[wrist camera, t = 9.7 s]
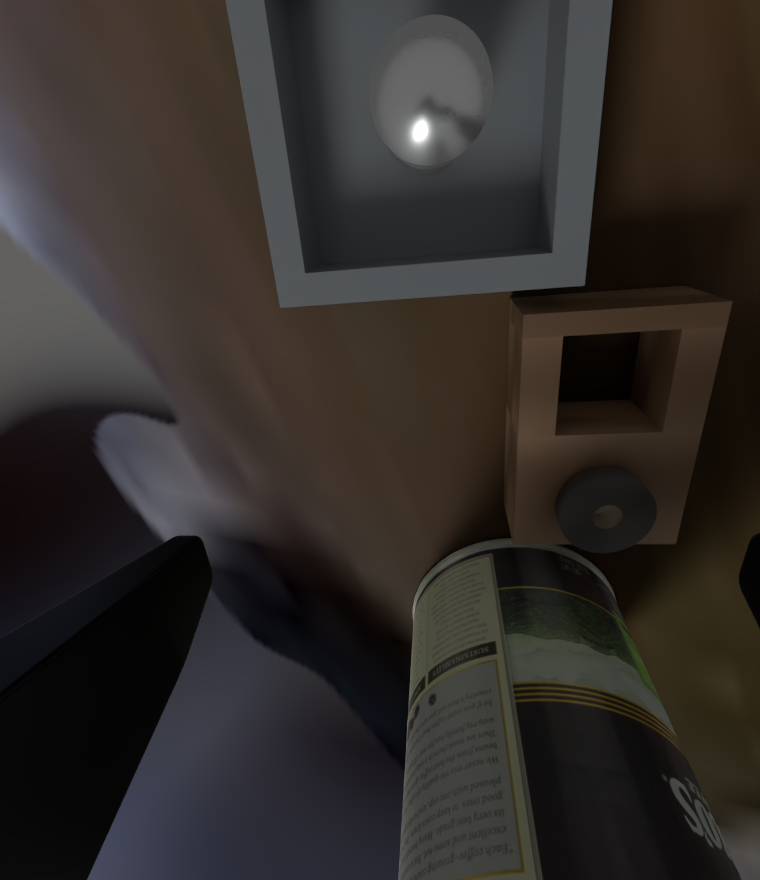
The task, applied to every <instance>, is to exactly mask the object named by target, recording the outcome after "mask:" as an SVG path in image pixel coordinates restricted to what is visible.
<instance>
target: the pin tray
mask: <svg viewBox="0 0 760 880" xmlns="http://www.w3.org/2000/svg"><path fill="white" fill-rule="evenodd" d="M612 3H613V0H226V5H227V11H228V17H229V22H230V28H231V34H232V39H233V45H234V50H235V56H236V62H237V67H238V73H239V79H240V84H241V90H242V95H243V101H244V107H245V112H246V118H247V124H248V129H249V135H250V140H251V146H252V152H253V157H254V163H255V168H256V174H257V180H258V185H259V191H260V197H261V202H262V208H263V213H264V219H265V225H266V230H267V236H268V242H269V247H270V253H271V258H272V264H273V270H274V275H275V281H276V287H277V292H278V298H279V303H280V308H286V307H299V306H313V305H327V304H341V303H354V302H368V301H382V300H396V299H409V298H423V297H437V296H451V295H464V294H478V293H492V292H506V291H519V290H533V289H547V288H560V287H574V286H585V278H586V267H587V257H588V247H589V237H590V227H591V217H592V207H593V196H594V186H595V176H596V166H597V156H598V146H599V135H600V125H601V115H602V105H603V95H604V85H605V74H606V64H607V54H608V44H609V34H610V24H611V13H612ZM433 14H436V15H445V16H449V17H452V18H454V19H457V20H459V21H461V22H462V23H464V24H465V25H467V26H468V27H469V28H470V29H471V30H472V31H473V32H474V33H475V34H476V35H477V37H478V38H479V39H480V41H481V43H482V44H483V46H484V48H485V50H486V52H487V55H488V57H489V61H490V64H491V69H492V75H493V96H492V102H491V107H490V111H489V114H488V117H487V120H486V122H485V124H484V126H483V128H482V130H481V132H480V134H479V135H478V137H477V138H476V139H475V141H474V142H473V143H472V144H471V145H470V146H469V147H468V148H467V149H466V150H465V151H464V152H463V153H462V154H461V155H460V156H459V157H458V158H457V159H456V160H455V161H454V162H453V163H452V164H450V165H449V166H448V167H447V168H446V169H444V170H443V171H441V172H439V173H436V174H433V175H428V176H421V175H416V174H413V173H410V172H408V171H407V170H405V169H404V168H402V167H401V166H400V165H399V164H398V163H397V161H396V160H395V159H394V157H393V156H392V154H391V153H390V151H389V149H388V148H387V146H386V145H385V143H384V142H383V140H382V139H381V137H380V135H379V133H378V132H377V129H376V127H375V124H374V122H373V118H372V114H371V109H370V99H369V90H370V80H371V74H372V71H373V67H374V64H375V61H376V59H377V56H378V54H379V53H380V51H381V49H382V47H383V46H384V44H385V43H386V41H387V40H388V39H389V37H390V36H391V35H392V34H393V33H394V32H395V31H396V30H397V29H399V28H400V27H401V26H402V25H404V24H405V23H407V22H409V21H410V20H413V19H415V18H417V17H421V16H425V15H433Z"/></svg>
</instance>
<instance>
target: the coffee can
mask: <svg viewBox="0 0 760 880" xmlns="http://www.w3.org/2000/svg"><path fill="white" fill-rule="evenodd" d="M412 613H413V642H412V657H411V675H410V693H409V710H408V723H407V744H406V762H405V779H404V780H405V781H404V796H403V812H402V829H401V846H400V863H399V879H398V880H742V879H741V877H740V874H739V873H738V871H737V869H736V866H735V864H734V862H733V860H732V858H731V856H730V853H729V851H728V849H727V846H726V844H725V842H724V840H723V837H722V835H721V833H720V831H719V828H718V825H717V824H716V822H715V820H714V818H713V816H712V814H711V811H710V809H709V806H708V804H707V801H706V799H705V797H704V795H703V793H702V791H701V789H700V787H699V785H698V782H697V780H696V778H695V776H694V774H693V771H692V769H691V767H690V765H689V762H688V760H687V758H686V756H685V754H684V751H683V749H682V747H681V745H680V742H679V740H678V738H677V736H676V734H675V732H674V729H673V727H672V725H671V723H670V721H669V718H668V716H667V714H666V712H665V709H664V707H663V705H662V703H661V701H660V698H659V696H658V694H657V692H656V689H655V687H654V685H653V683H652V681H651V679H650V676H649V674H648V672H647V670H646V667H645V665H644V663H643V661H642V659H641V656H640V654H639V652H638V650H637V647H636V645H635V643H634V641H633V639H632V636H631V633H630V631H629V630H628V628H627V625H626V623H625V621H624V619H623V616H622V614H621V612H620V610H619V608H618V605H617V602H616V598H615V595H614V592H613V590H612V587H611V586H610V584H609V582H608V580H607V579H606V577H605V576H604V575H603V574H602V573H601V571H600V570H599V569H598V568H597V567H596V566H594V565H593V564H592V563H591V562H590V561H589V560H587V559H586V558H584V557H583V556H582V555H580V554H578V553H576V552H575V551H573V550H571V549H568V548H566V547H564V546H561V545H557V544H555V545H513V541H512V538H500V539H493V540H487V541H482V542H478V543H475V544H473V545H470V546H467V547H464V548H462V549H460V550H458V551H456V552H454V553H452V554H450V555H449V556H447V557H446V558H444V559H443V560H441V561H440V562H439V563H438V564H437V565H435V566H434V567H433V568H432V569H431V570H430V571H429V572H428V574H427V575H426V576H425V577H424V578H423V580H422V581H421V583H420V585H419V588H418V590H417V592H416V595H415V598H414V603H413V608H412Z"/></svg>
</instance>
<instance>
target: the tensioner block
mask: <svg viewBox="0 0 760 880" xmlns="http://www.w3.org/2000/svg"><path fill="white" fill-rule="evenodd" d="M732 303H733V301H731V300H728V299H725V298H722V297H719V296H716V295H713V294H710V293H706V292H703V291H700V290H697V289H694V288H691V287H688V286H685V285H684V286H670V287H656V288H642V289H628V290H614V291H600V292H586V293H572V294H558V295H543V296H529V297H515V298H510V312H509V343H508V375H507V406H506V438H505V469H504V500H503V502H504V507H505V511H506V515H507V520H508V524H509V528H510V533H511V537H512V541H513V545H555V544H573V545H574V546H576V547H578V548H580V549H582V550H585V551H588V552H593V553H611V552H617V551H621V550H623V549H626V548H628V547H631V546H633V545H634V544H676V542H677V537H678V533H679V529H680V524H681V520H682V516H683V512H684V507H685V503H686V499H687V495H688V490H689V486H690V482H691V478H692V473H693V469H694V465H695V460H696V456H697V452H698V448H699V443H700V439H701V435H702V431H703V426H704V422H705V418H706V414H707V409H708V405H709V401H710V396H711V392H712V388H713V384H714V379H715V375H716V371H717V367H718V362H719V358H720V354H721V350H722V345H723V341H724V337H725V332H726V328H727V324H728V320H729V315H730V311H731V307H732ZM626 332H640V337H639V344H638V350H637V357H636V363H635V370H634V376H633V383H632V389H631V396H630V400H607V401H583V402H559V403H558V394H559V382H560V369H561V357H562V345H563V336H576V335H593V334H609V333H626Z"/></svg>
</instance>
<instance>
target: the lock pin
mask: <svg viewBox="0 0 760 880" xmlns="http://www.w3.org/2000/svg"><path fill="white" fill-rule="evenodd" d="M492 96H493V75H492V69H491V64H490V61H489V57H488V55H487V52H486V50H485V48H484V46H483V44H482V43H481V41H480V39H479V38H478V37H477V35H476V34H475V33H474V32H473V31H472V30H471V29H470V28H469V27H468V26H467V25H465V24H464V23H462V22H461V21H459V20H457V19H454V18H452V17H449V16H445V15H436V14H433V15H425V16H421V17H417V18H415V19H413V20H410V21H409V22H407V23H405V24H404V25H402V26H401V27H400V28H399V29H397V30H396V31H395V32H394V33H393V34H392V35H391V36H390V37H389V39H388V40H387V41H386V43H385V44H384V46H383V47H382V49H381V51H380V53H379V54H378V56H377V59H376V61H375V64H374V67H373V71H372V74H371V80H370V90H369V99H370V109H371V114H372V118H373V122H374V124H375V127H376V129H377V132H378V133H379V135H380V137H381V139H382V140H383V142H384V143H385V145H386V146H387V148H388V149H389V151H390V153H391V154H392V156H393V157H394V159H395V160H396V161H397V163H398V164H399V165H400V166H401V167H402V168H404V169H405V170H407V171H408V172H410V173H413V174H416V175H421V176H428V175H433V174H436V173H439V172H441V171H443V170H444V169H446V168H447V167H448V166H449V165H450V164H452V163H453V162H454V161H455V160H456V159H457V158H458V157H459V156H460V155H461V154H462V153H463V152H464V151H465V150H466V149H467V148H468V147H469V146H470V145H471V144H472V143H473V142H474V141H475V139H476V138H477V137H478V135H479V134H480V132H481V130H482V128H483V126H484V124H485V122H486V120H487V117H488V114H489V111H490V107H491V102H492Z"/></svg>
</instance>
